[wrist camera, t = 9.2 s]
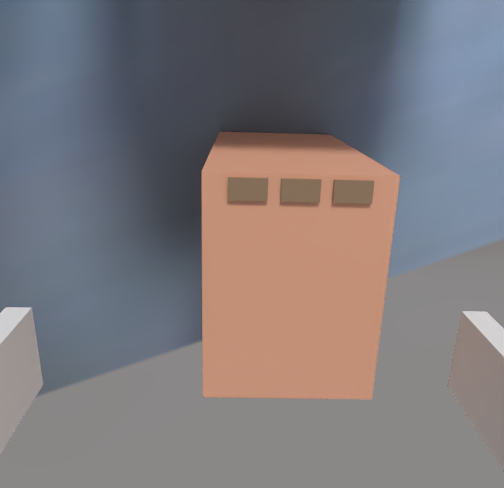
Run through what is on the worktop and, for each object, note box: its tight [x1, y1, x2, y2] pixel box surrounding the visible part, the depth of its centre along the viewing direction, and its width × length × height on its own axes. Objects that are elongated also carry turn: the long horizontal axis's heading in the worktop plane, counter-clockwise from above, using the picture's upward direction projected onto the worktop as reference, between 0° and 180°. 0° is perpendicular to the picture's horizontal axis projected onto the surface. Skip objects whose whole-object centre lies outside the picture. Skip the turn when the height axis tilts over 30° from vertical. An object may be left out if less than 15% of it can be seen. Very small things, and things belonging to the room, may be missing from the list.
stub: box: [202, 132, 400, 399], centre depth 21 cm, size 8×6×12 cm
